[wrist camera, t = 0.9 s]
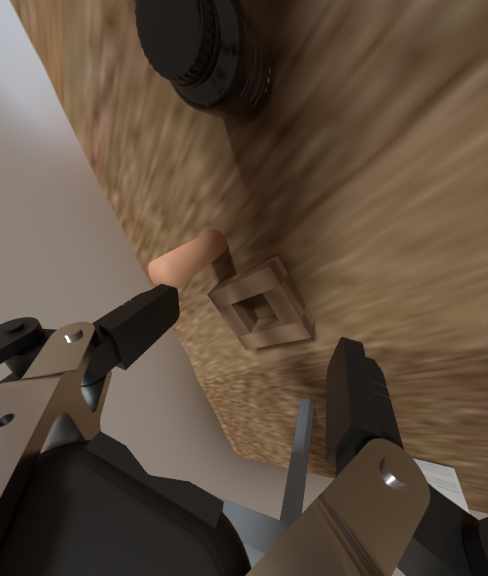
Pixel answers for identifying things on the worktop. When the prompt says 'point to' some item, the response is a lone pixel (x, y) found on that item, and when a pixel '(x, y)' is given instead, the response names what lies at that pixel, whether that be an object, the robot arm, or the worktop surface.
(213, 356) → the worktop surface
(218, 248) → the peg
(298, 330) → the socket block
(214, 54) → the supplement bottle
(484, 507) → the worktop surface
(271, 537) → the grey u-shaped bracket
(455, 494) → the supplement box
